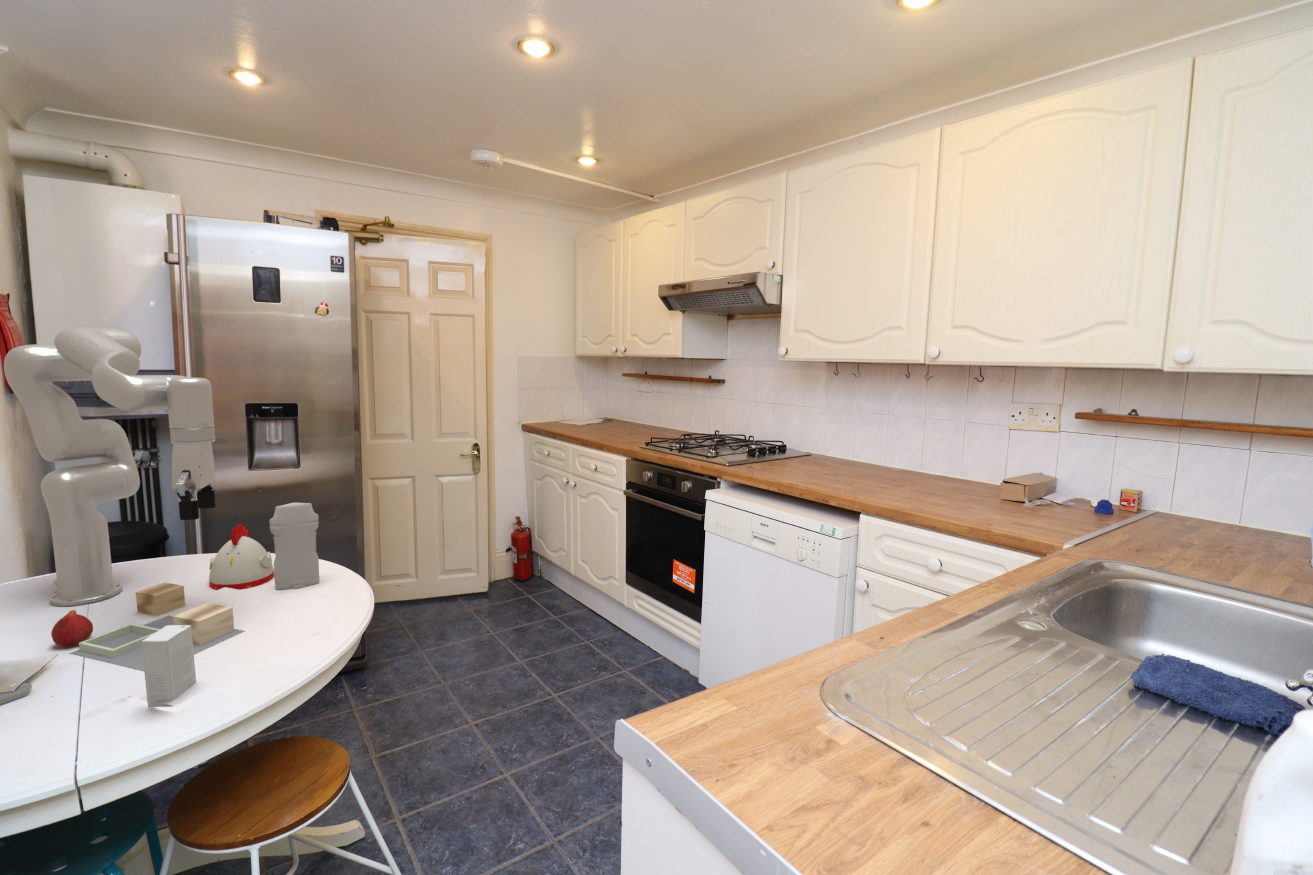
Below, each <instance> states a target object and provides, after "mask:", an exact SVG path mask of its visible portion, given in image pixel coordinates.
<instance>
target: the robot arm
mask: <svg viewBox="0 0 1313 875" xmlns="http://www.w3.org/2000/svg"><path fill="white" fill-rule="evenodd" d="M53 343H54V344H50V343H49V344H47V343H46V344H44V343H40V344H37V343H36V344H35V343H33V344H25V345H19V346H16V347H14V348H11V350H9V351H8V352H7V354H6V355H5V357H4V361H3V370H4V376H5V378H6V381H7V383H8V385H9V387H10V389H11V390H12V392H13V394H14V395H15V396H16V397H17V398H18V401H19V402H20V404H21V405H22V407H23V409H24V411H25V415H26V419H27V421H28V424H29V427H30V431H31V433H32V436H33V440H34V443H35V446H36V448H37V451H38V453H39V455H40V456H41V457H42V459H44V460H45V461H47V462H51V463H66V462H67V463H68V462H77V461H86V460H92V459H98V461H99V462H97V463H87V464H82V465H81V464H79V465H73V466H72V465H71V466H66V467H62V468H58V469H55V470H52V471H50V472H48V473H47V474H46V475H45V476H44V477H43V478H42V480H41V482H40V491H41V492H40V493H41V495H42V497H43V500H44V502H45V505H46V508H47V512H48V516H49V521H50V526H51V527H50V528H51V536H52V546H53V556H54V566H55V573H56V574H55V575H56V578H55V579H54V580H53V582H52V584H53V585H54V586H57V591H56V592H54V593H53V594H51V595H50V597H49V603H50V605H53V606H56V607H57V606H58V607H69V606H80V605H86V604H91V603H95V602H96V603H97V602H98V601H102V600H107V599H109V598H112V597H114V596H117V595H118V594H119V593H121V591H122V590H123V584H122V583H120V582H117V581H114V577H113V569H112V568H113V567H112V557H111V545H110V544H111V543H110V536H109V526H108V521H107V519H106V517H105V516H104V515H103V514H102V513H101V512H100V511H98V510H97V509H96V508H95V507H94V505H97V504H101V503H106V502H111V501H116V500H121V499H122V500H123V499H126V498H129V497H132V496H134V495H135V494H137V492H138V491H139V489H140V484H141V480H140V475H139V474H140V473H139V470H138V467H137V464H136V463H137V462H136V461H135V457H134V455H133V454H134V453H133V451H132V448H131V444H130V442H129V438H128V437H127V433H126V432H125V430H124V429H123V428H122V426H121V425H120V424H119V423H117V422H116V421H114V420H111V419H107V418H95V419H83V418H82V417H81V416H80V414H79V411H78V407H77V404H76V402H75V400H74V399H73V397H71V396H70V395H69V394H68V393H67V392H65V390H63V389H62V388H60V387H59V386H57V385H55V384H54V383H53V382H89V381H90V382H91V386H92V387H93V389H94V391H95V393H96V394H97V396H98V397H99V398H100V399H101V400H103V401H104V402H106V403H108V404H110V405H111V406H112V407H115V408H117V409H119V410H122V411H124V412H125V411H126V412H128V413H129V412H131V413H139V412H154V411H155V412H156V411H167V412H168V413H167V414H168V425H169V427H168V428H169V436H170V437H169V439H170V444H172V449H171V450H172V451H171V481H172V482H171V487H172V490H173V491H175V492H177V493H176V495H177V503H178V510H179V511H178V514H179V519H180V521H192V520H198V519H200V510H199V509H202V510H203V509H204V510H205V509H214V508H216V495H215V494H216V493H215V487H216V486H215V484H214V482H215V478H216V477H215V475H216V474H215V472H216V470H215V460H214V452H213V451H214V450H213V446H212V443H214V442H216V436H215V435H216V434H215V433H216V431H215V422H214V421H215V419H214V418H215V417H214V405H213V404H214V403H213V390H212V389H213V388H212V383H211V381H210V380H209V379H208V378H205V377H196V376H195V377H189V376H184V375H179V374H176V375H175V374H166V375H165V374H153V375H152V374H145V375H140V374H138V373H139V370H140V367H141V361H140V357H141V355H142V345H141V343H140V341H139V339H138V337H136V336H135V334H134V333H132V332H130V331H129V330H126V329H124V328H123V329H122V328H118V327H117V328H115V327H99V326H98V327H96V326H94V327H93V326H72V327H68V328H65V329H63V330H61V331H60V332H58V333H57V334H56V336H55V338H54V341H53Z"/></svg>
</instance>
